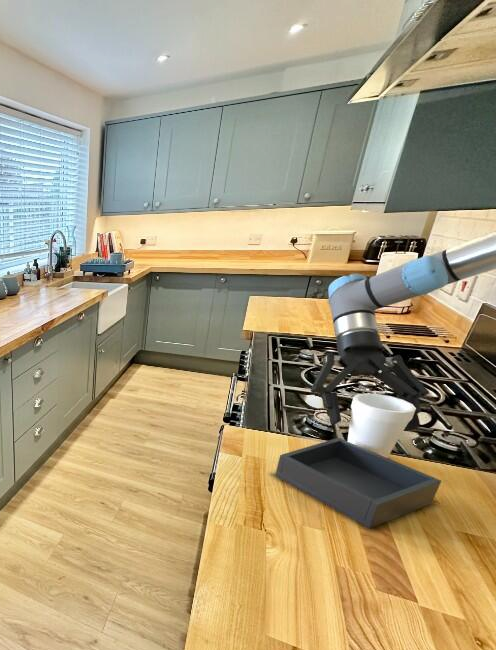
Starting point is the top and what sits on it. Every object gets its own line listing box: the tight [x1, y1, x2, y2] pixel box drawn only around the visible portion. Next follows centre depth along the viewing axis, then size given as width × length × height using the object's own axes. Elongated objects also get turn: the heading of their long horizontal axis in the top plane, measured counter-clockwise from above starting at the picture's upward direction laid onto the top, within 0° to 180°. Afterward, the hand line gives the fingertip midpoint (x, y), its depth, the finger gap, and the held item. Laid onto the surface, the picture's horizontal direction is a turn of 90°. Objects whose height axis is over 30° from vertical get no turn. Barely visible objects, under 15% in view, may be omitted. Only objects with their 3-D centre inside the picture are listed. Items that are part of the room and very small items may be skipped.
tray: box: [274, 437, 442, 529], centre depth 80 cm, size 17×17×5 cm
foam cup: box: [347, 392, 416, 458], centre depth 88 cm, size 10×9×13 cm
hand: (373, 425), depth 88 cm, fingers open, 13 cm apart
